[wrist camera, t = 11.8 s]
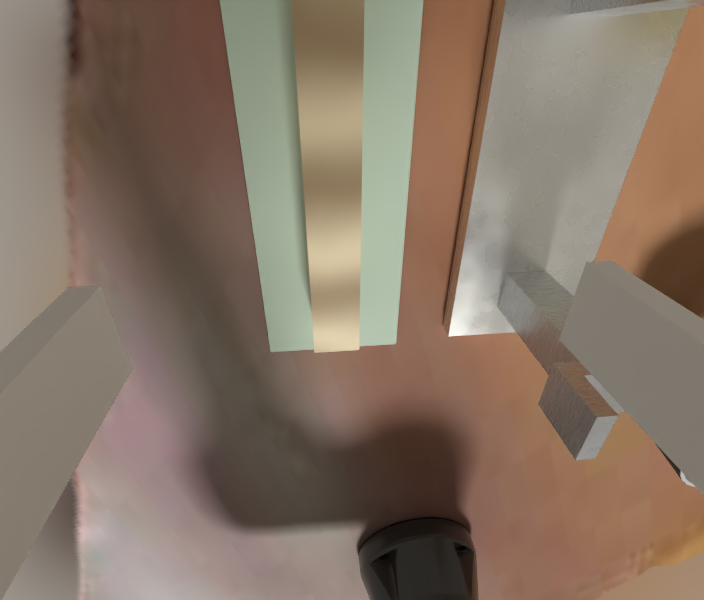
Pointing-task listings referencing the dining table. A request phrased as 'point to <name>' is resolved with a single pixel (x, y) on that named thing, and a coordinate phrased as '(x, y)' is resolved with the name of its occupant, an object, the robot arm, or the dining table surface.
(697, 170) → the dining table surface
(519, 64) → the rail stand
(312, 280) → the wooden rail
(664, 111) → the dining table surface
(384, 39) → the green mat
